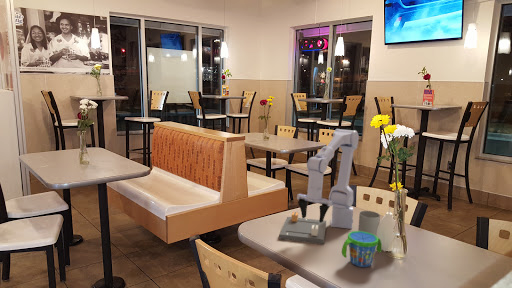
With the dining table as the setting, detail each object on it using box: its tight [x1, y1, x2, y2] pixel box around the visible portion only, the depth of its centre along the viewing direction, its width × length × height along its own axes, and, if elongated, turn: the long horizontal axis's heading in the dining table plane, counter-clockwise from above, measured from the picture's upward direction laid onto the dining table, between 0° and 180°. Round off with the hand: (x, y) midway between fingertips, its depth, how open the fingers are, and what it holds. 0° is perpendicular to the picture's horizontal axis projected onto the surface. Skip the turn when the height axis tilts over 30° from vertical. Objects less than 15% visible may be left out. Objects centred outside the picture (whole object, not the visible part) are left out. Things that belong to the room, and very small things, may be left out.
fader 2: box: [311, 225, 318, 236], centre depth 149 cm, size 2×4×3 cm, turn 166°
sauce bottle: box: [377, 206, 396, 252], centre depth 139 cm, size 8×8×18 cm
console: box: [279, 216, 327, 245], centre depth 157 cm, size 18×21×2 cm
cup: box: [357, 210, 381, 236], centre depth 152 cm, size 8×8×10 cm
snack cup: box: [341, 230, 383, 268], centre depth 129 cm, size 16×10×10 cm
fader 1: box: [291, 211, 299, 222], centre depth 164 cm, size 2×4×3 cm, turn 166°
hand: (312, 219), depth 146 cm, fingers open, 7 cm apart
